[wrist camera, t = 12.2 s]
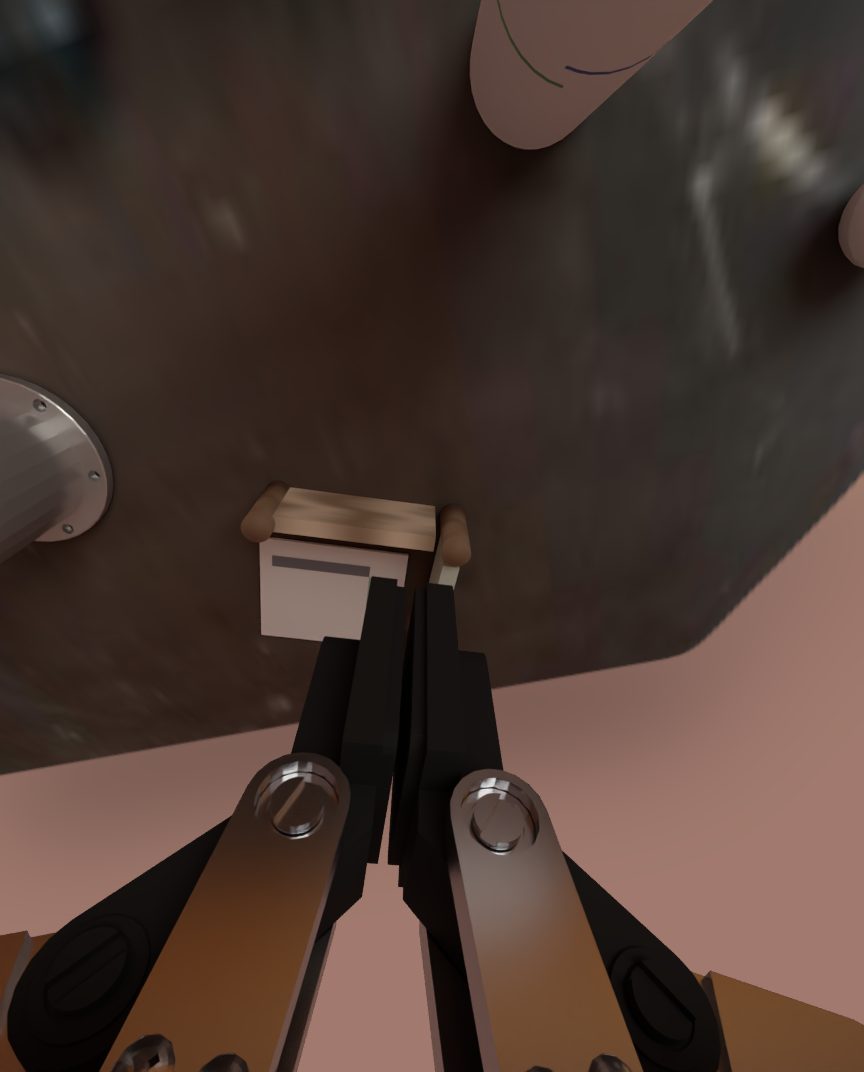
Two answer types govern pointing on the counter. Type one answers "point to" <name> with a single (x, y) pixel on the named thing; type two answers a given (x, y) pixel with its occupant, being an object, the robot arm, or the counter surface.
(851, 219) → the pinkish brown egg
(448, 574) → the cream flat slab
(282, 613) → the card
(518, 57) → the cylindrical container
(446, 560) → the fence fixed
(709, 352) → the counter surface
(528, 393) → the counter surface
